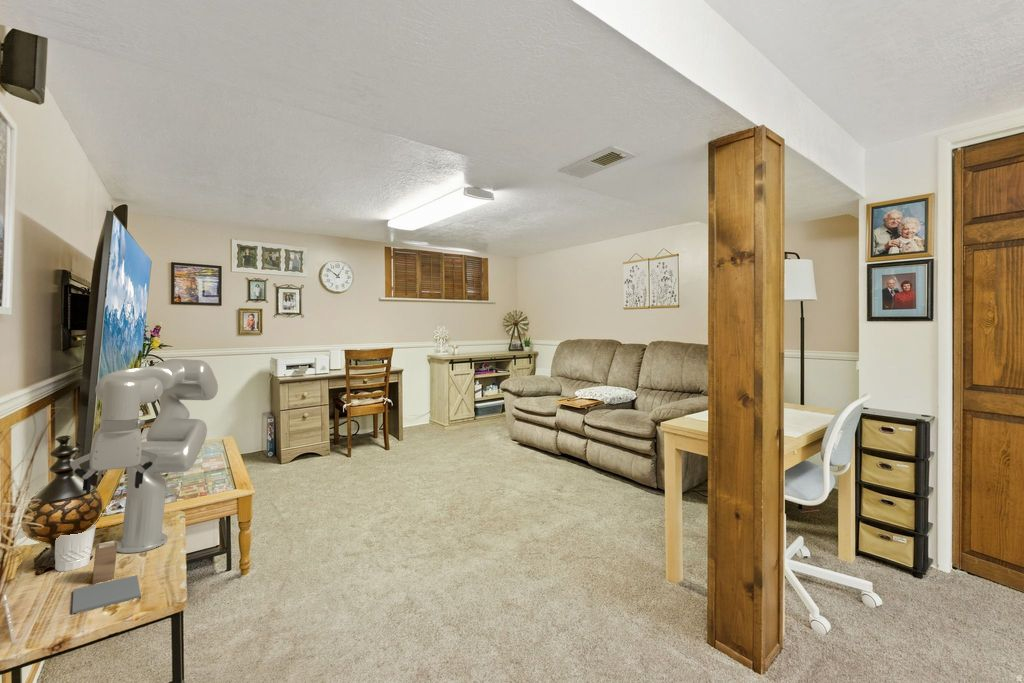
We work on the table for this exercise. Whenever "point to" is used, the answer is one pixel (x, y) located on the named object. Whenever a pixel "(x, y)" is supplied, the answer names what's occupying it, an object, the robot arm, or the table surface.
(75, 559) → the white cup
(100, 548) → the block
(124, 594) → the mat
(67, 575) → the table surface
